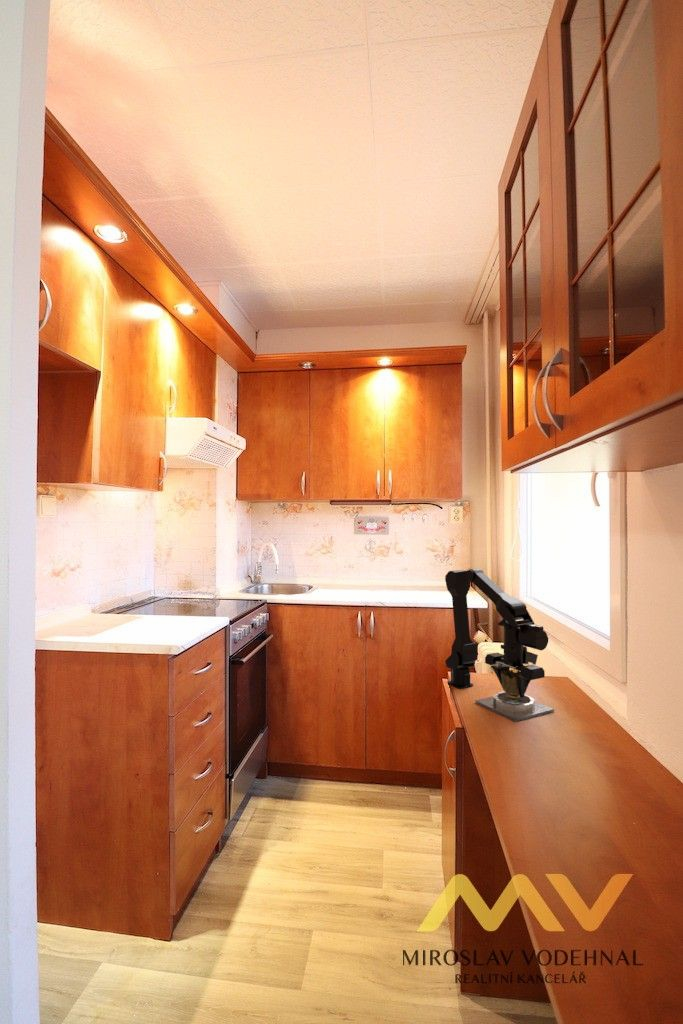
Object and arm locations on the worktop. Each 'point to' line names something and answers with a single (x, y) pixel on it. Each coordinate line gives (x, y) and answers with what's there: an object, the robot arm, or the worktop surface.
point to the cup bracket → (514, 706)
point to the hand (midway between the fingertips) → (513, 693)
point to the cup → (510, 684)
